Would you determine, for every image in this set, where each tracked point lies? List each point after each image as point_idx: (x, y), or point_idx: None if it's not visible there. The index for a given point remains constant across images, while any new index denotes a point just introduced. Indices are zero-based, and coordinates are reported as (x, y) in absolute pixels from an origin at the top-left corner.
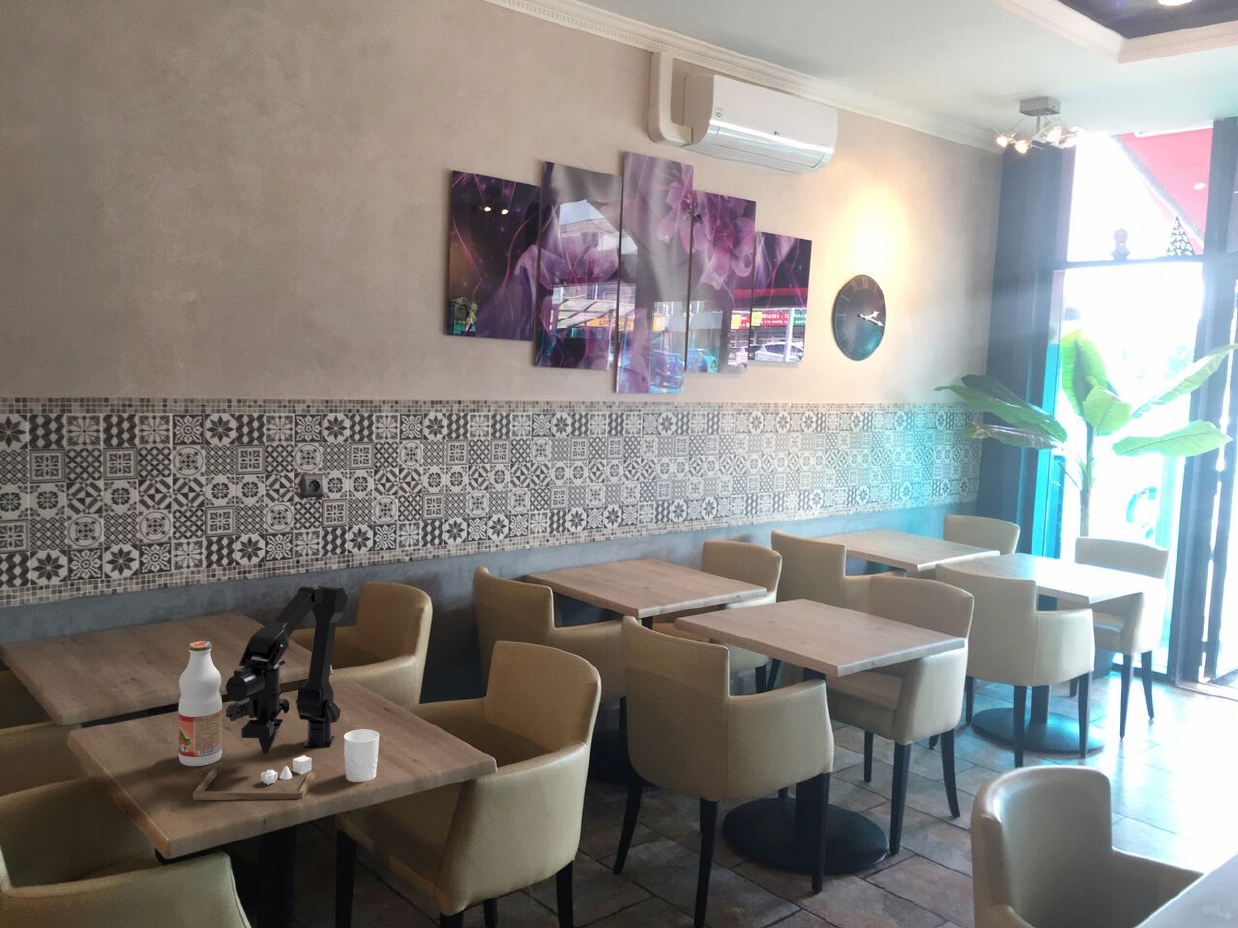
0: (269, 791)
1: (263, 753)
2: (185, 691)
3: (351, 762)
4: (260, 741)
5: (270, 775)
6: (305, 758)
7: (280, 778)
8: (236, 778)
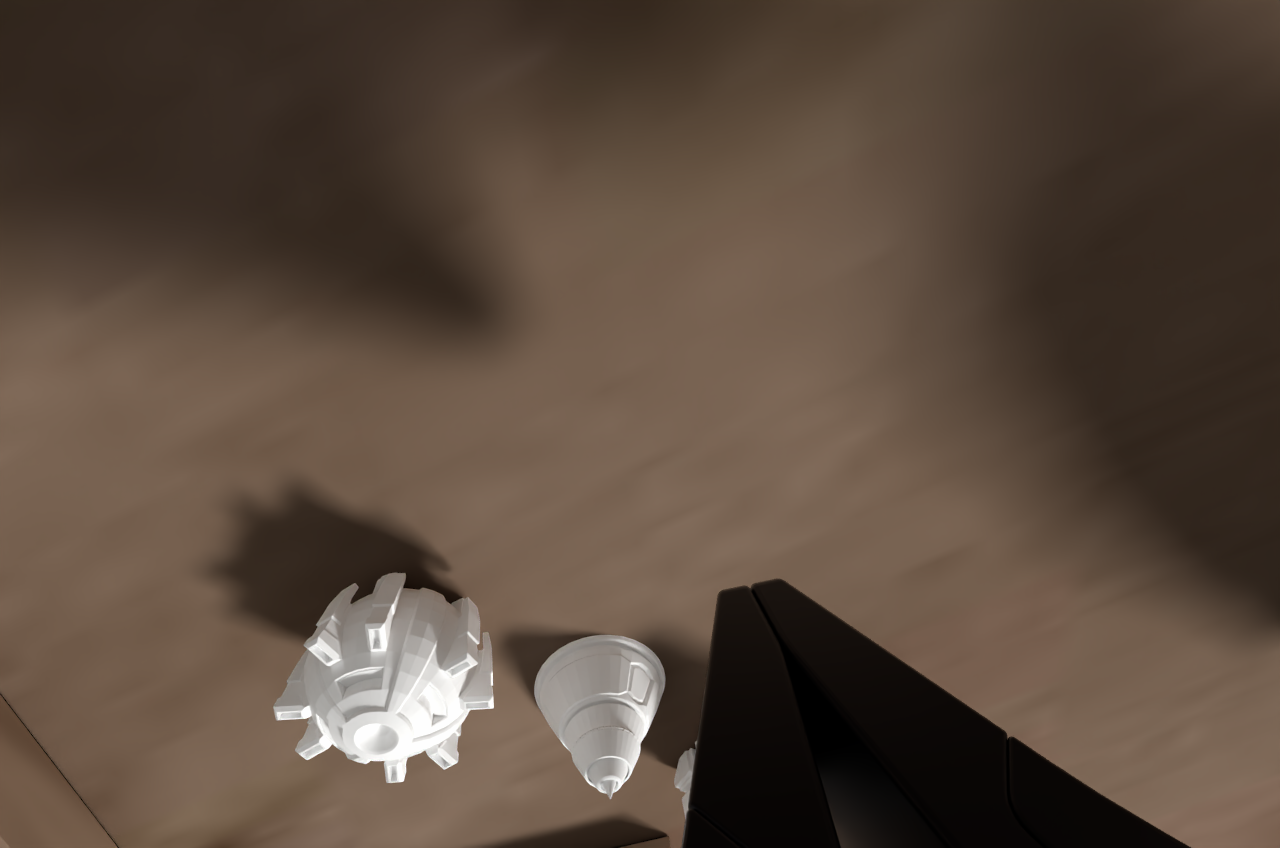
0: (6, 845)
1: (718, 598)
2: None
3: None
4: (689, 845)
5: (321, 747)
6: None
7: (543, 665)
8: (405, 192)
